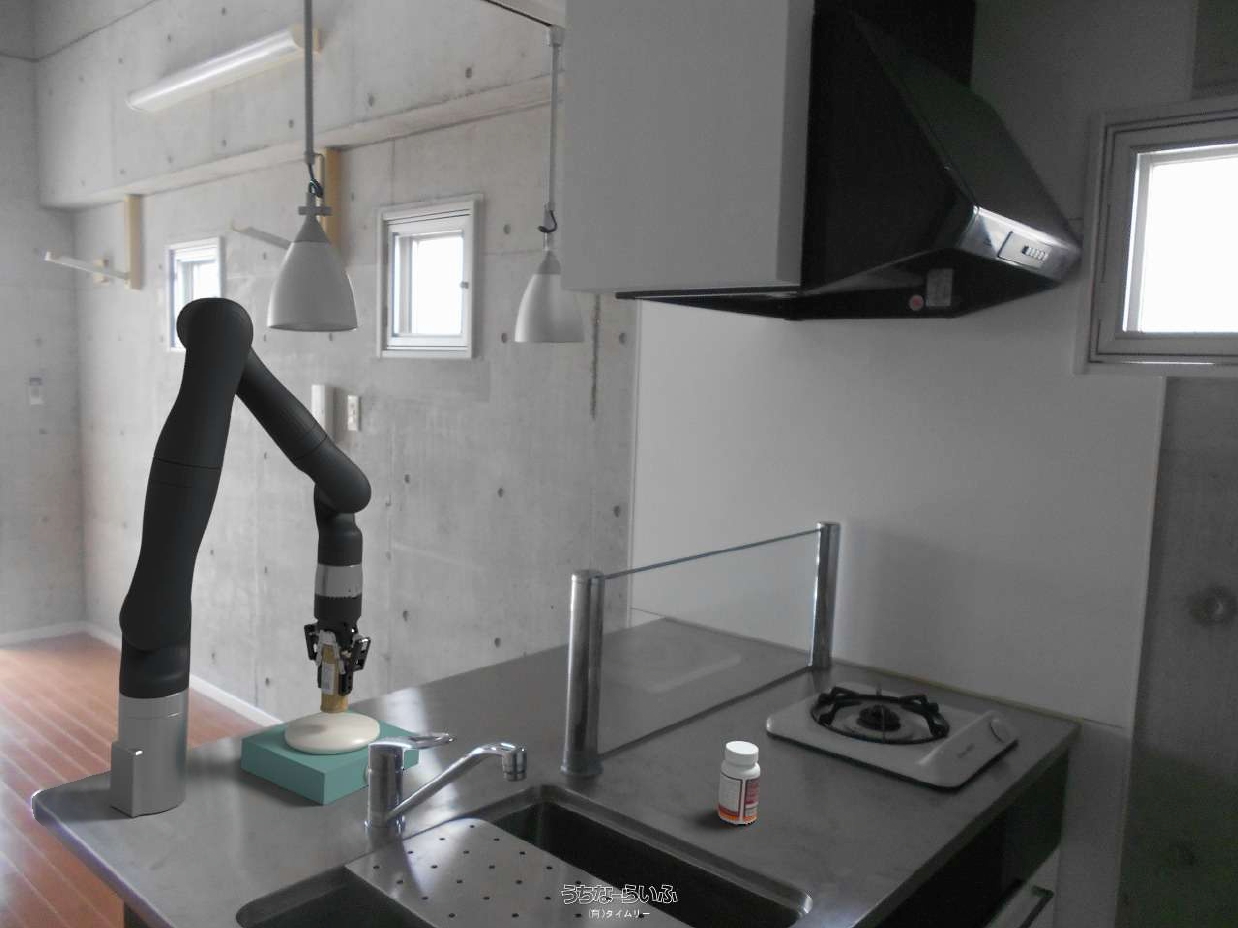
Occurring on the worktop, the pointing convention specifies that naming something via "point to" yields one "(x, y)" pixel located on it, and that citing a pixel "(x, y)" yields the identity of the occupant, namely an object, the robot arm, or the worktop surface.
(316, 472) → the robot arm
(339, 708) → the sprinkles bottle
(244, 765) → the scale
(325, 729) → the scale pan
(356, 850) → the worktop surface
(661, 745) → the worktop surface
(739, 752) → the pill bottle
